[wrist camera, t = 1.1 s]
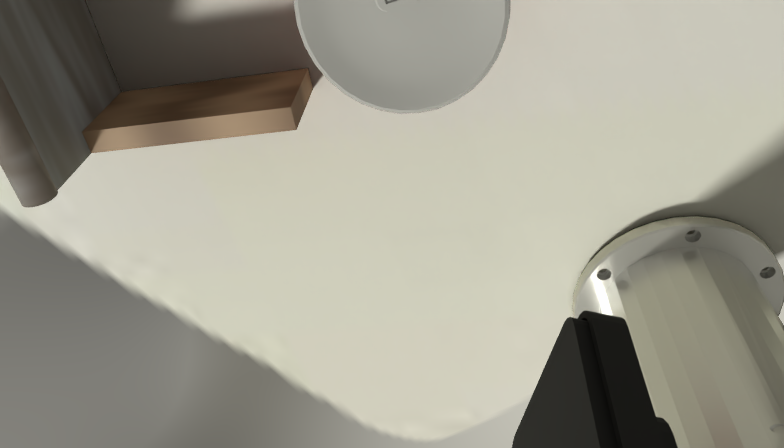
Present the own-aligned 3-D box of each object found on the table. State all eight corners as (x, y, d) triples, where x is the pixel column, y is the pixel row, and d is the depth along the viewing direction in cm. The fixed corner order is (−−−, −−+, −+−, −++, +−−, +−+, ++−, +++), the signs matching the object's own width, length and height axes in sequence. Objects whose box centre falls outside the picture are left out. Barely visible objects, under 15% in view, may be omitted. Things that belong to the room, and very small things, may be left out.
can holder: (247, -195, 30) (171, -178, 22) (312, 89, 37) (274, 182, 29) (-4, -149, 32) (-162, -117, 24) (105, 114, 39) (14, 208, 31)
